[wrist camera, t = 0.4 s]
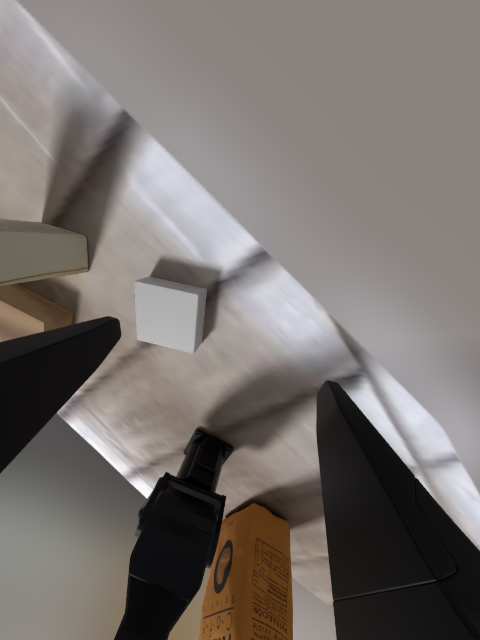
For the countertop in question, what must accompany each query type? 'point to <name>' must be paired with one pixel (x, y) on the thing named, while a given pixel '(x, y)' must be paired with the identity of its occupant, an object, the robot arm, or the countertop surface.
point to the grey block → (170, 313)
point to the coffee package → (250, 580)
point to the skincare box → (39, 252)
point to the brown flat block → (28, 313)
